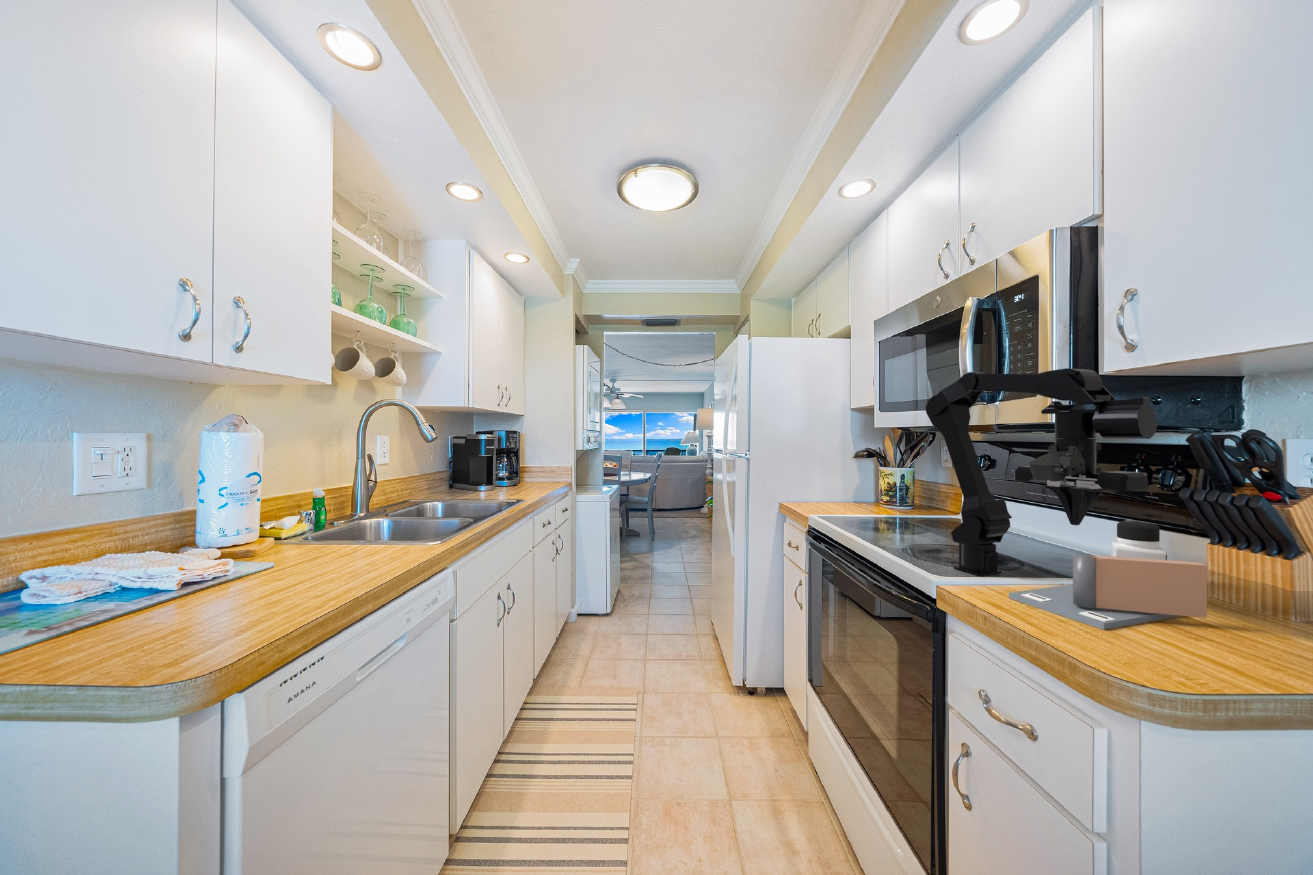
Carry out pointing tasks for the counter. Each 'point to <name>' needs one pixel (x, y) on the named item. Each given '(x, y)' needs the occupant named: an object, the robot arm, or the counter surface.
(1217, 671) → the counter surface
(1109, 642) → the counter surface
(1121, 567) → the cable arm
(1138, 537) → the medicine bottle
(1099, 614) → the label board
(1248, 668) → the counter surface
